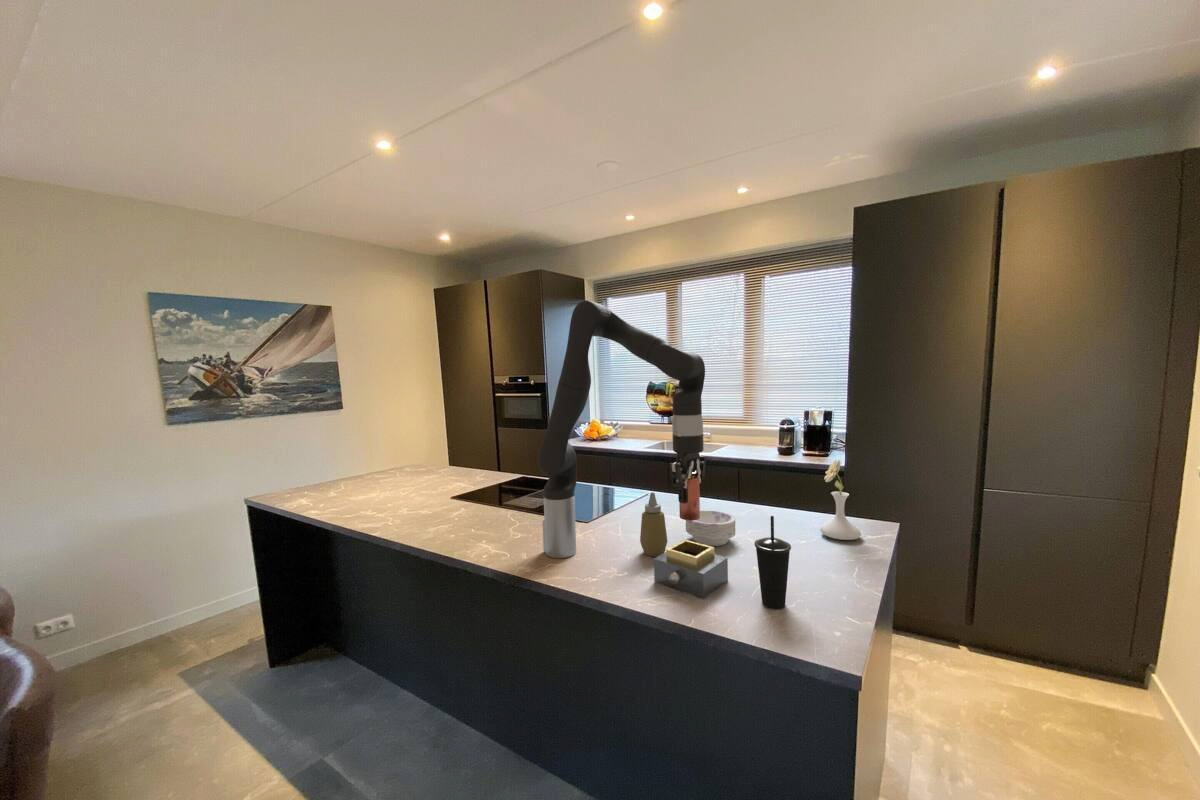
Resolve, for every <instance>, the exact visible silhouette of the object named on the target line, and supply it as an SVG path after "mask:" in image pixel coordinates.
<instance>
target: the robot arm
mask: <svg viewBox="0 0 1200 800" xmlns="http://www.w3.org/2000/svg"><path fill="white" fill-rule="evenodd" d="M593 337H600V338H604V339H606V340H609V341H613V342H616V343H617V344H619V345H621V346H623V347H624V348H625V349H626V350H627V351H629V352H630V354H632V355H634V356H635V357H637V358H638V359H641V360H643V361H645V362H646V363H649V364H650V365H652V366H654V367H656V368H657V369H658V370H659V371H661V372H662V373H663V374H665V375H666V376H668V377H669V378H671V379H674V380H675V381H678V389H677V391H675V393H674V394H673V396H672V424H671V427H672V428H671V429H672V431H671V432H672V434H671V435H672V450H673V452H674V453H676V459H675V460H676V461H675V462H673V463H672V462H670V463H669V464H668V467H669V474H670V481H671V485H672V487H676V488H677V491H678V493H677V495H678V496H677V497H678V498H677V499H678V502H680V503H687V502H688V488H687V485H688V480H689V479H690V478H691V473H692V476H696V477H699V484H701V483H702V481H703V480H705V476H706V474H705V473H706V466H707V465H706V464H707V456H706V455H705V456H703V455H700V453H702V452H703V451H704V421H703V413H702V412H703V411H702V410H703V409H702V408H703V407H702V405H703V404H702V396H703V395H702V393H703V390H704V385H705V378H706V366H705V361H704V359H703V358H702V356H701V355H699V354H698V353H695V352H689V351H688V352H685V351H683V350H680V349H678V348H676V347H674V346H672V344H671V343H670V342H669V341H667V340H665V339H664V338H662V337H659V336H657V335H655V334H653V333H651V332H649V331H648V330H647V331H646V330H644V329H641V328H640V327H638V326H634V325H633V324H631V323H630V322H629V323H628V322H627V321H625V320H624V319H622V318H621V317H620V316H618V315H617V314H616V313H614V312H613V311H612V310H610V308H608V307H607V306H606V305H604V304H600V303H597V302H595V301H592V300H588V299H584V300H581V301H579V302H578V303H577V304H576V305H575V307H574V309H573V310H572V313H571V317H570V322H569V331H568V338H567V344H566V350H565V353H564V354H565V355H564V359H563V363H562V368H561V371H560V376H559V379H558V382H557V388H556V392H555V397H554V401H553V405H552V409H551V413H550V417H549V421H548V425H547V428H546V432H545V434H544V437H543V439H542V443H541V445H540V448H539V451H538V454H537V467H538V468H539V470H540V472H541V473H542V474H543V475H544V476H547V477H548V480H547V482H546V484H545V485H544V487H543V492H542V493H543V514H544V516H543V518H544V520H543V521H542V541H543V542H542V545H543V552H544V553H545V556H547V557H549V558H553V559H565V558H570V557H572V556H573V555H575V554H576V553H577V537H576V536H577V533H576V531H577V530H576V505H575V503H576V500H575V499H576V498H575V489H576V486H577V480H578V479H577V476H578V473H577V471H578V469H577V468H578V466H577V463H578V462H577V460H578V459H577V453H576V450H575V448H574V447H573V446H572V444H570V443H569V439H570V435H571V433H572V431H573V429H574V427H575V425H576V423H577V422H578V420H579V419H580V417H581V415H582V414H583V411H584V410H585V407H586V404H587V402H588V397H589V394H590V390H591V386H592V375H591V367H590V361H589V351H590V347H591V342H592V338H593ZM682 478H684V483H683V479H682Z"/></svg>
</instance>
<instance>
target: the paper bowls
mask: <svg viewBox="0 0 1200 800" xmlns="http://www.w3.org/2000/svg"><path fill="white" fill-rule="evenodd" d="M685 532H686V533H688V535H691V537H692V539H693V540H694V541H695V542H696V543H699V544H703V545H707V546H711V547H719V546H723V545H725V544H727V543H728V541H729V539H732V538H733V537H735V536H736V517H735V516H734V515H732V514H730V513H727V512H724V511H719V510H709V509H704V510H702V509H700V519H698V520H685Z"/></svg>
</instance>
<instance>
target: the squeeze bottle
mask: <svg viewBox="0 0 1200 800" xmlns="http://www.w3.org/2000/svg"><path fill="white" fill-rule="evenodd" d="M640 523H641V525H640V536H639V537H640V538H639V542H640V544H641V547H642V551H643V554H644V555H646V556H649V557H658V556H660V555H662V554H664V553H665V552H666V549H667V548H666V547H667V545H668V535H667V526H666V518H665V513H664V512H663V511H662V506H661V504H660V503H658V502H657V497H656V493H655V492H650V494H649V498H648V503H645V505H644V511H643V512H641V522H640Z"/></svg>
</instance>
